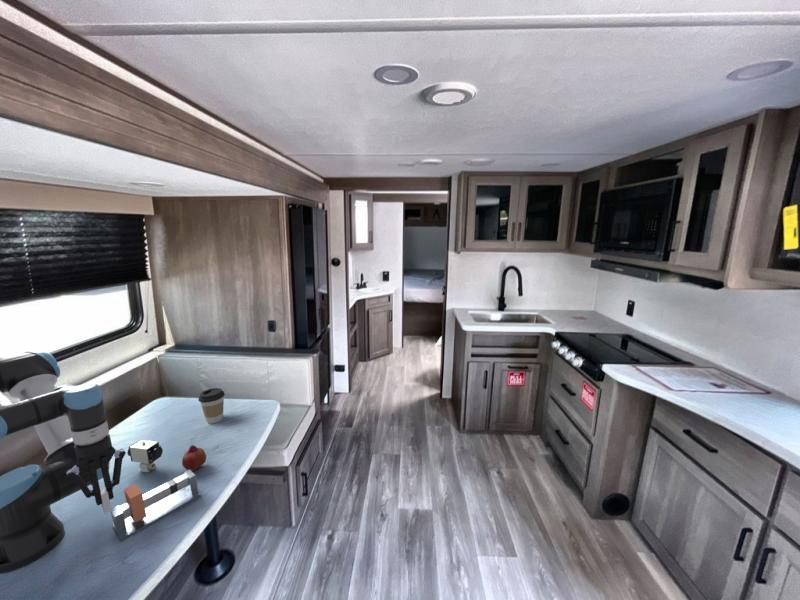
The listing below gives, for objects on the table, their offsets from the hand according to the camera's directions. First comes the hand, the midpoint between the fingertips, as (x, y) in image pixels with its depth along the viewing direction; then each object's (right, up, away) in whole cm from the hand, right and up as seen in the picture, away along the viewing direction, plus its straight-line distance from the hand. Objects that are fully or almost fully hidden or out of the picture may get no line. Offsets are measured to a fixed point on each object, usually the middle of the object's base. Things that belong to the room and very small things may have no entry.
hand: (107, 510), depth 99 cm
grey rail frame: (+8, -7, +11) cm, 15 cm away
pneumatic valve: (-12, -4, +32) cm, 34 cm away
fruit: (+7, -4, +31) cm, 32 cm away
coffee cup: (-5, +3, +67) cm, 67 cm away
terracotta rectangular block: (+4, -5, +6) cm, 9 cm away
